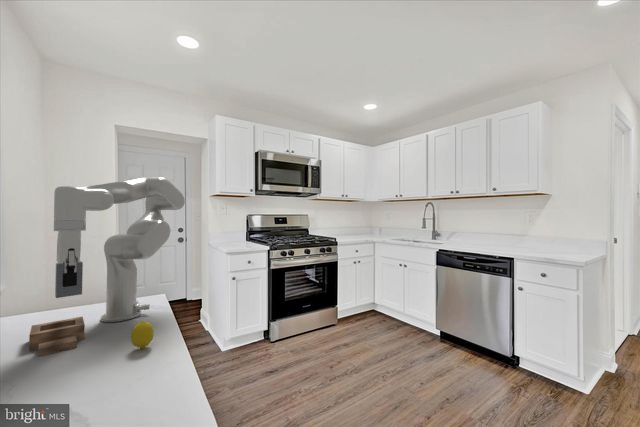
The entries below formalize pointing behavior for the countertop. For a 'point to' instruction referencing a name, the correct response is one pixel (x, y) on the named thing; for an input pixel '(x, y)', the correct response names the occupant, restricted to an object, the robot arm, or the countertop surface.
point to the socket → (56, 335)
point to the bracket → (70, 290)
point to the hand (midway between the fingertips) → (69, 284)
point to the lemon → (142, 334)
